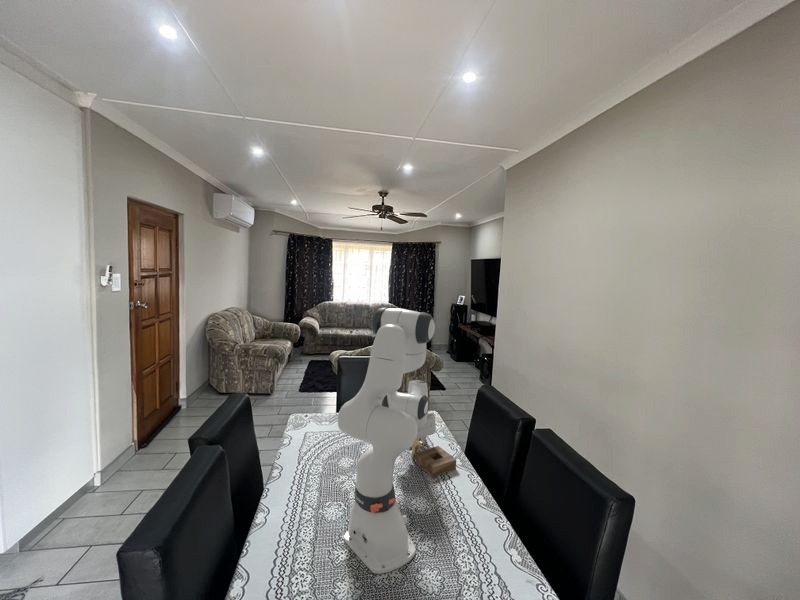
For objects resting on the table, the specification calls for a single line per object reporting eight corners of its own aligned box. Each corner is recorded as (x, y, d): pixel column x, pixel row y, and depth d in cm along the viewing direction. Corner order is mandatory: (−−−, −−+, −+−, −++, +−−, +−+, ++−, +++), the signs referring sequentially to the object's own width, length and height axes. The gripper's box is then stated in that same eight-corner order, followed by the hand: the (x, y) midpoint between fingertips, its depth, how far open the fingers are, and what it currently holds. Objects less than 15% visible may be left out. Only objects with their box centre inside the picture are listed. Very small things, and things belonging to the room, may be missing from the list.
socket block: (455, 468, 135) (456, 459, 134) (432, 477, 128) (432, 467, 128) (437, 454, 145) (438, 445, 144) (415, 461, 138) (415, 452, 138)
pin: (419, 457, 142) (420, 435, 141) (414, 459, 140) (415, 437, 139) (415, 454, 144) (416, 432, 143) (410, 456, 143) (411, 434, 142)
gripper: (430, 409, 149) (429, 438, 150) (393, 419, 137) (392, 451, 138) (439, 414, 144) (438, 444, 145) (401, 425, 132) (400, 458, 133)
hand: (415, 448), depth 142 cm, fingers open, 5 cm apart
